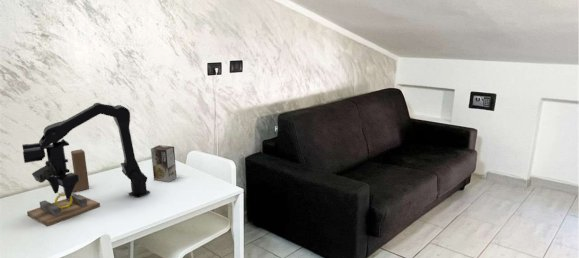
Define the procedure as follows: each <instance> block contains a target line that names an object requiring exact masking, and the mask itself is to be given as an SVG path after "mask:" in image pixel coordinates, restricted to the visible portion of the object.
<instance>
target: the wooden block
mask: <svg viewBox="0 0 579 258" xmlns="http://www.w3.org/2000/svg"><path fill="white" fill-rule="evenodd" d="M85 153H86V152H85V150H84V149H82V148H80V149H76V150H71V151H70V154H71V155H70V156H71V160H72V161H71V162H72V169H73V173H74V174H77V175H78V176H79V181H78V182H77V183H76V185H75V187H74V189H73V191H72V193H77V192H81V191H85V190H89V189H90V184H89V177H88V168H87V161H86V154H85Z"/></svg>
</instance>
